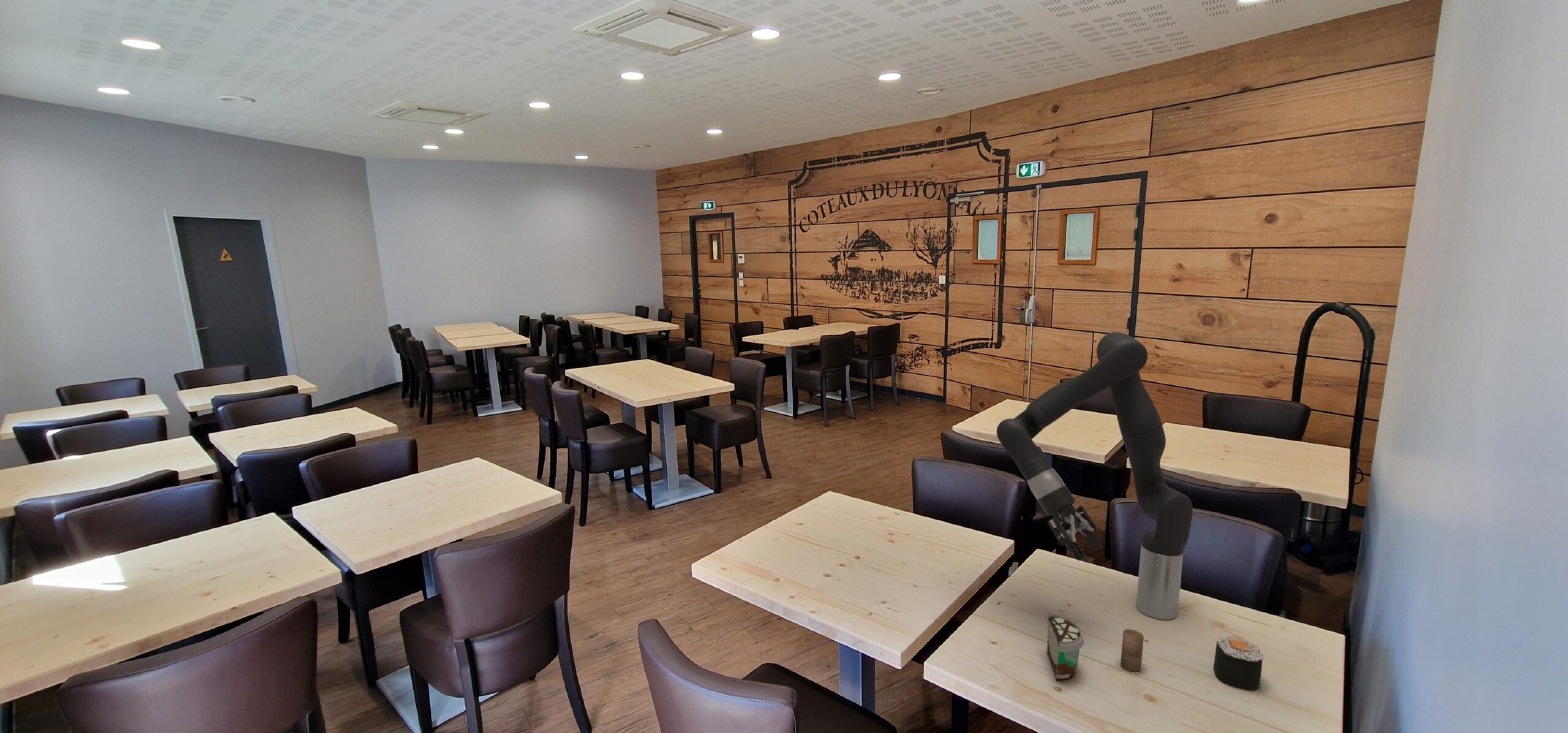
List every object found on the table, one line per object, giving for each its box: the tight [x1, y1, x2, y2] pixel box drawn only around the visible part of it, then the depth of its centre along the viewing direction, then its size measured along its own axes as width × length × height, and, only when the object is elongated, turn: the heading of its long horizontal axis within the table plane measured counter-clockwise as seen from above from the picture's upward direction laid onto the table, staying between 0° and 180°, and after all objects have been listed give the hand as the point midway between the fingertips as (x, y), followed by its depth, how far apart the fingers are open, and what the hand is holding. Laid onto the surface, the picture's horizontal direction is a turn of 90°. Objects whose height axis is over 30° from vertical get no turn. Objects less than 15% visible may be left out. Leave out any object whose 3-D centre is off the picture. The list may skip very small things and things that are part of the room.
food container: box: [1046, 612, 1085, 682], centre depth 139 cm, size 12×6×10 cm, turn 168°
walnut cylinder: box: [1120, 628, 1145, 674], centre depth 139 cm, size 4×4×8 cm
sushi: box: [1213, 635, 1265, 691], centre depth 135 cm, size 8×8×8 cm
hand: (1090, 554), depth 146 cm, fingers open, 8 cm apart
